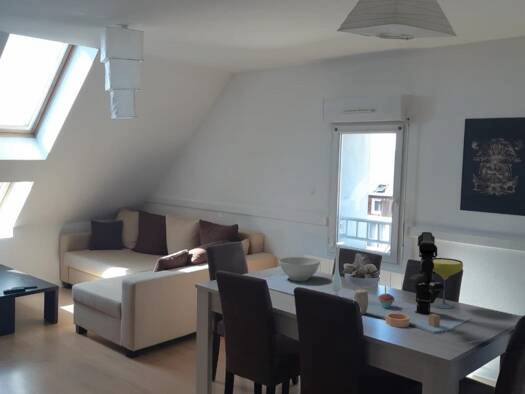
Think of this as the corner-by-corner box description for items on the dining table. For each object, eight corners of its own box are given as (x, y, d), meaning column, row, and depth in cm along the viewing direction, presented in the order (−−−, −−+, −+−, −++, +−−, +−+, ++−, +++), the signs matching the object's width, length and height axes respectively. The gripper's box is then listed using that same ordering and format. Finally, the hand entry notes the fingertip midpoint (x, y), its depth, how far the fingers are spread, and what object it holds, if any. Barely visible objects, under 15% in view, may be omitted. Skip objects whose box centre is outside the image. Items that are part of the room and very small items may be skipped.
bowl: (398, 319, 275) (399, 312, 275) (414, 326, 265) (414, 318, 265) (381, 322, 270) (381, 314, 270) (396, 329, 261) (396, 320, 260)
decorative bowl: (270, 279, 359) (271, 261, 358) (292, 272, 380) (292, 255, 380) (306, 285, 343) (306, 266, 342) (326, 278, 365) (327, 260, 364)
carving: (367, 315, 282) (368, 292, 281) (353, 314, 284) (353, 291, 283) (367, 311, 289) (368, 289, 288) (353, 310, 290) (353, 288, 289)
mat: (434, 321, 273) (434, 320, 273) (457, 330, 259) (457, 329, 259) (410, 325, 266) (410, 324, 266) (433, 335, 253) (433, 334, 253)
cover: (434, 321, 271) (434, 310, 271) (454, 329, 260) (454, 317, 259) (414, 325, 265) (414, 313, 265) (433, 333, 254) (433, 320, 253)
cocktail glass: (468, 307, 299) (470, 262, 297) (447, 312, 289) (449, 265, 287) (440, 299, 314) (441, 256, 312) (419, 304, 304) (421, 259, 301)
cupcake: (390, 309, 293) (391, 287, 292) (375, 307, 297) (376, 285, 296) (396, 306, 300) (396, 284, 299) (381, 303, 305) (381, 282, 304)
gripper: (400, 266, 267) (399, 298, 267) (425, 272, 250) (424, 306, 250) (419, 265, 271) (418, 297, 271) (445, 271, 254) (444, 305, 254)
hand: (425, 301), depth 262 cm, fingers open, 9 cm apart
